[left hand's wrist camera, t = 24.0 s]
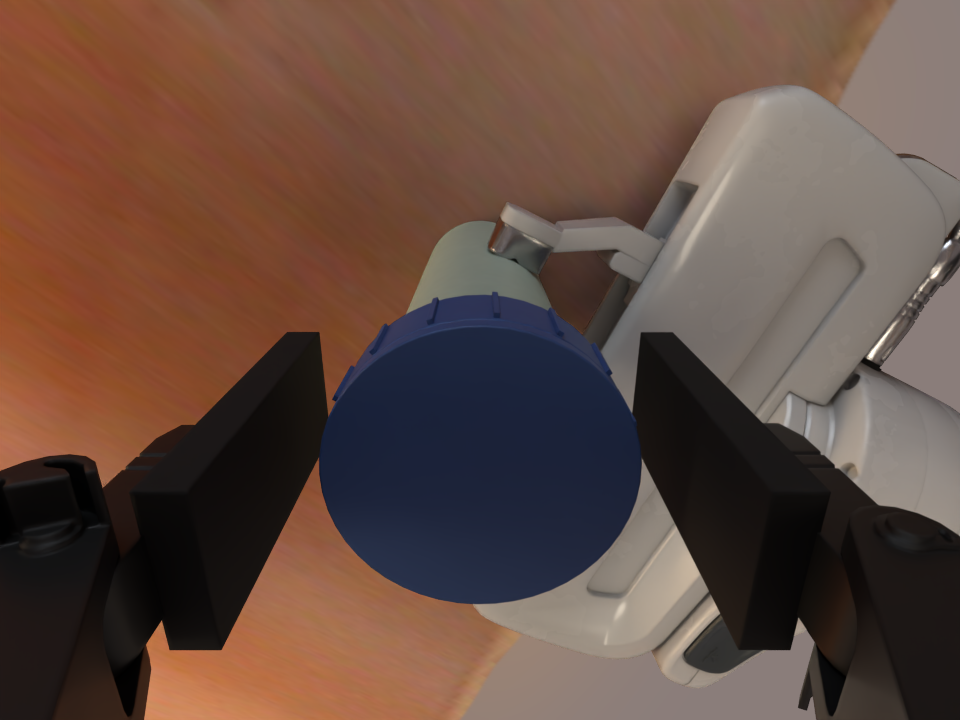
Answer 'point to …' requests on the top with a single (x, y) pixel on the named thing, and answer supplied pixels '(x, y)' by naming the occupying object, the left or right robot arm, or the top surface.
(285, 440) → the left robot arm
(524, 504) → the lid
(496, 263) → the screw-top jar
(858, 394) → the right robot arm
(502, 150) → the top surface
